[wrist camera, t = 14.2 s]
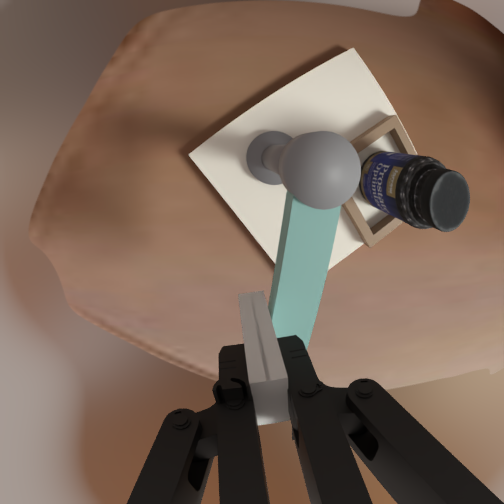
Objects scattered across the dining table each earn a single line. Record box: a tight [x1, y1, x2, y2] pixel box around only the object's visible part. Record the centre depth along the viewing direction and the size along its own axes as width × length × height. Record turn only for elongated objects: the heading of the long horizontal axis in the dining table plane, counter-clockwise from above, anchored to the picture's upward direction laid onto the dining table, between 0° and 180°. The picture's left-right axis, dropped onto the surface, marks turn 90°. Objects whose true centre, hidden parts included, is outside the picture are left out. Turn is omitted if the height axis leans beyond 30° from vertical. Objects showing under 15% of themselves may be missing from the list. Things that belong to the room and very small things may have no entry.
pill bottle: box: [359, 151, 470, 232], centre depth 22 cm, size 6×6×11 cm
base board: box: [189, 48, 417, 270], centre depth 21 cm, size 20×18×14 cm
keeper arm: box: [268, 131, 361, 350], centre depth 15 cm, size 15×4×2 cm, turn 173°
